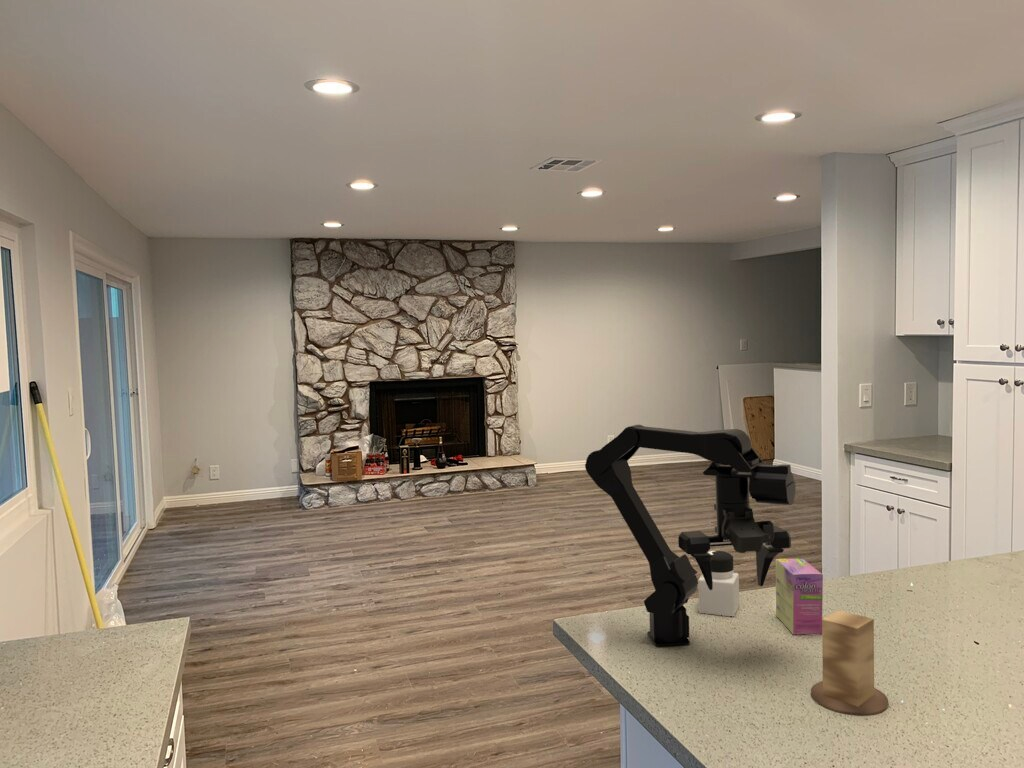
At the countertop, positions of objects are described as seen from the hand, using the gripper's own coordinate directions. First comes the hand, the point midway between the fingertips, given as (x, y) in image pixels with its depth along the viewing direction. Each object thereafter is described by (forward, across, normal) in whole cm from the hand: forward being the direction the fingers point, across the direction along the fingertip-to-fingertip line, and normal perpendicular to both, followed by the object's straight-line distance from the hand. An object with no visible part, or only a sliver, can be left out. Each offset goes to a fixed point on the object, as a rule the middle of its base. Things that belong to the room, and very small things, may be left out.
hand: (735, 587), depth 137 cm
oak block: (+12, +10, -19) cm, 25 cm away
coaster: (+12, +10, -19) cm, 25 cm away
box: (+12, +17, +11) cm, 24 cm away
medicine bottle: (+12, +5, +22) cm, 26 cm away
